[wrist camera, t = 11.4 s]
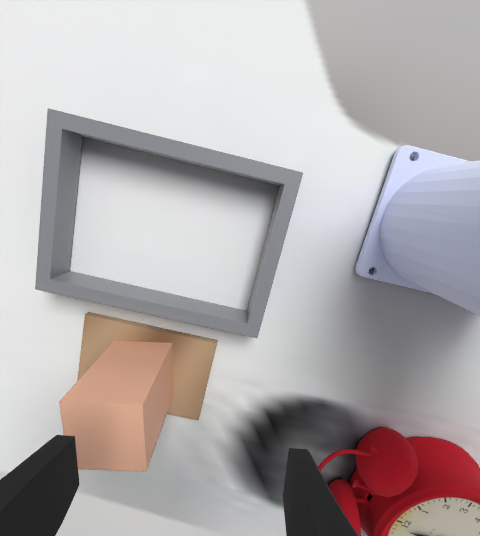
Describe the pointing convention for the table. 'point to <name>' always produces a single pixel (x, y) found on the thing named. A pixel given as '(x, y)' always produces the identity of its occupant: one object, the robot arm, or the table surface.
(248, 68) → the table surface
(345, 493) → the alarm clock
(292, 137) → the table surface
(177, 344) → the walnut pad
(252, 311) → the gray rectangular frame
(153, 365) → the block
